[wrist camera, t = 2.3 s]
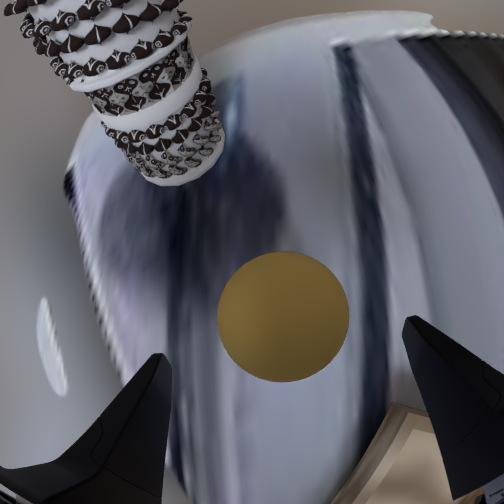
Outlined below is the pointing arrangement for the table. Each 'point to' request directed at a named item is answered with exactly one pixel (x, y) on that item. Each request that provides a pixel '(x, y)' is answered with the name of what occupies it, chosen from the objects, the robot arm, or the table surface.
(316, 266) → the ball
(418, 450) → the tray
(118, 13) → the decorative candle
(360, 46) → the table surface
